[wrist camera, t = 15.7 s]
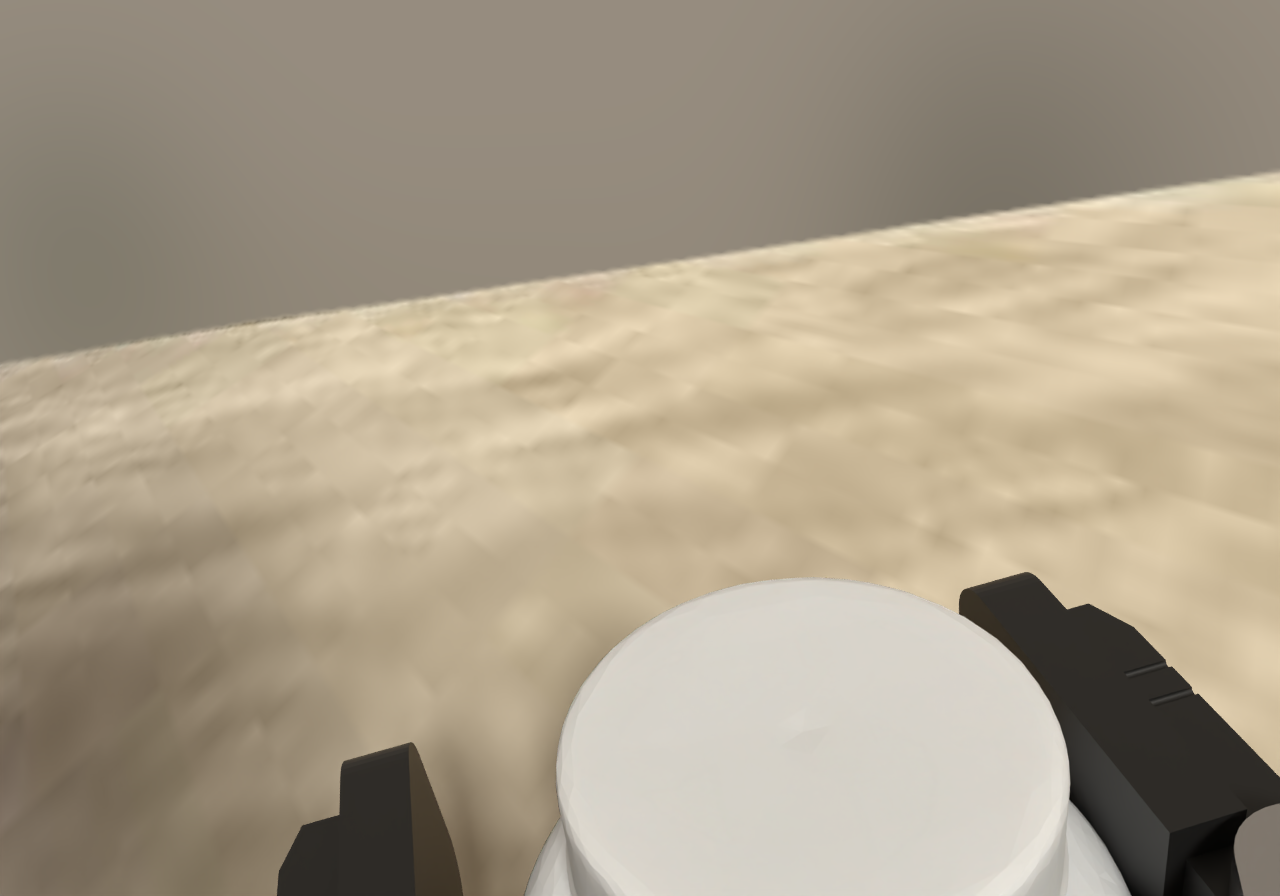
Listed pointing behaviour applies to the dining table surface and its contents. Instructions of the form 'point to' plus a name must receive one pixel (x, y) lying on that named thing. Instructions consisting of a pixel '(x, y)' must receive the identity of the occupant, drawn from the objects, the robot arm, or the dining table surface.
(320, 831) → the robot arm
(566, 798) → the supplement bottle
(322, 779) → the dining table surface
